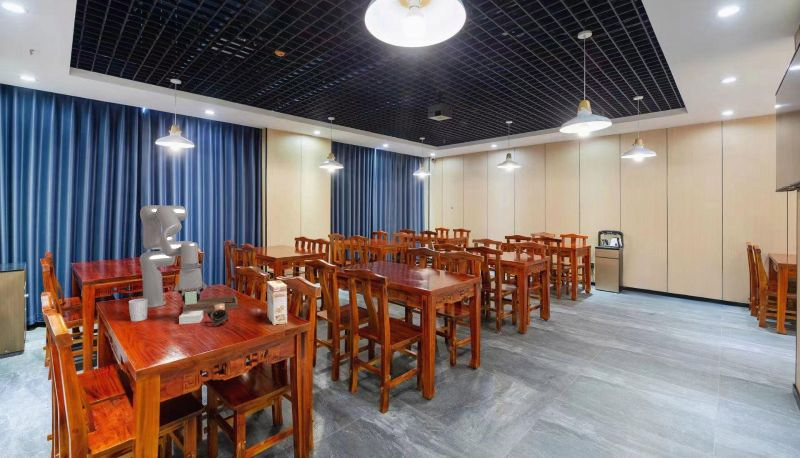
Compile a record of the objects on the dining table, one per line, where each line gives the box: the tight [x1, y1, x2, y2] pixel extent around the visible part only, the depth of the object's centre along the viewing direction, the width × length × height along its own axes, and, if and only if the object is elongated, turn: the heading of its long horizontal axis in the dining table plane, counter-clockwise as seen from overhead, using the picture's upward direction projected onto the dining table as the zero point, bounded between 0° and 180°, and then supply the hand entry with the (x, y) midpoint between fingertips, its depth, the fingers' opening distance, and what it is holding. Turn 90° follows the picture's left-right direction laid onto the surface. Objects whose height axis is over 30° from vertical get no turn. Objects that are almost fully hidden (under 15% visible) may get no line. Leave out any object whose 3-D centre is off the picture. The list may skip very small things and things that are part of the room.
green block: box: [185, 289, 197, 305], centre depth 182 cm, size 5×5×6 cm
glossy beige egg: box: [213, 303, 226, 314], centre depth 195 cm, size 5×5×5 cm
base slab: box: [178, 310, 204, 325], centre depth 183 cm, size 9×9×4 cm
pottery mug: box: [207, 309, 230, 328], centre depth 179 cm, size 12×10×8 cm
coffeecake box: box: [266, 279, 288, 326], centre depth 184 cm, size 15×7×20 cm, turn 31°
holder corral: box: [182, 295, 239, 314], centre depth 206 cm, size 17×27×4 cm, turn 118°
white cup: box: [128, 298, 149, 322], centre depth 184 cm, size 8×8×10 cm
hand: (191, 301), depth 182 cm, fingers closed on green block, 5 cm apart
